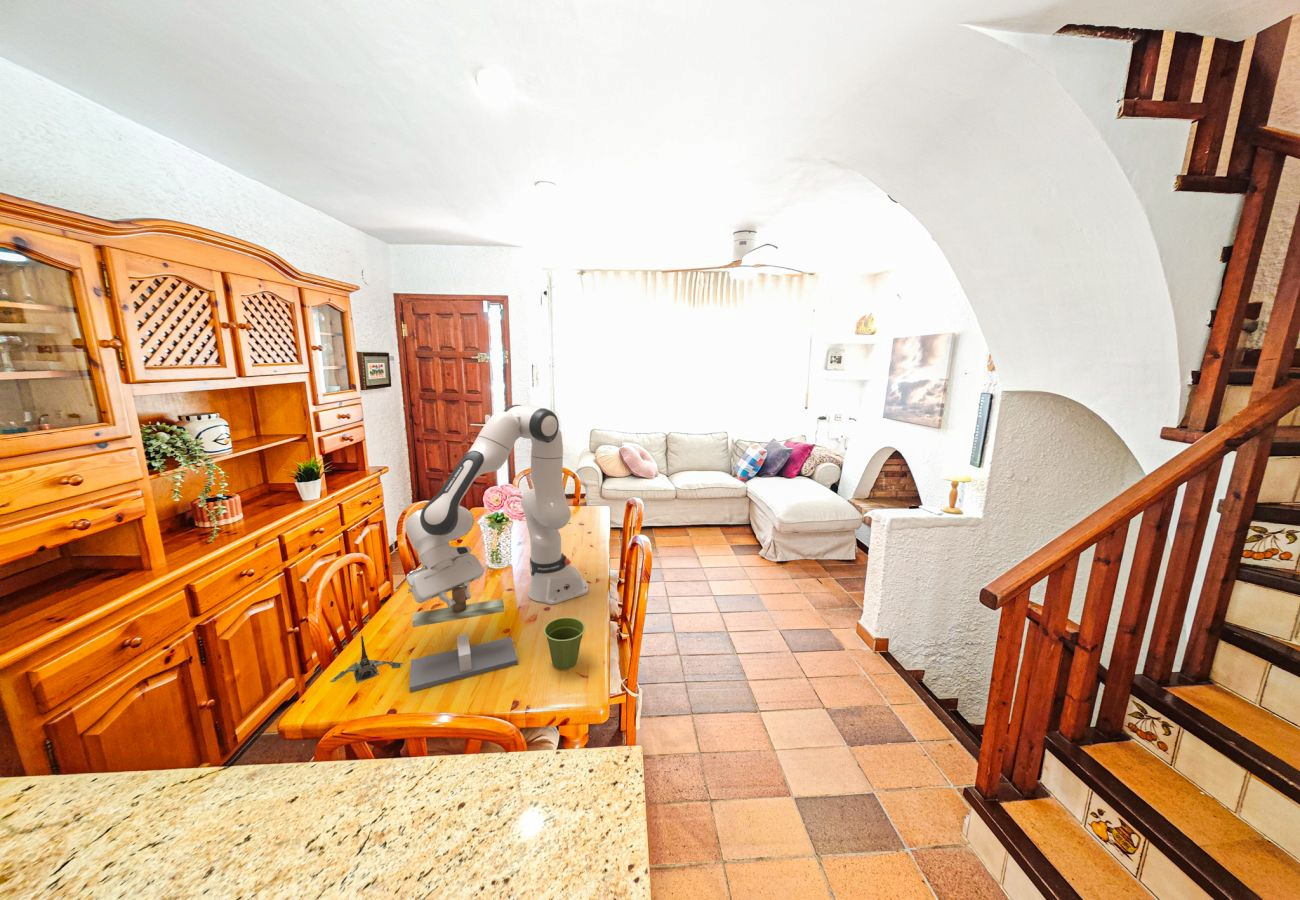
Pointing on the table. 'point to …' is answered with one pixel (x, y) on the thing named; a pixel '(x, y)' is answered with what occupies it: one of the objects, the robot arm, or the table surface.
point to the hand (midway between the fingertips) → (460, 602)
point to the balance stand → (461, 662)
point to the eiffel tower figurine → (365, 667)
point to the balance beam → (457, 610)
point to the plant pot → (564, 641)
